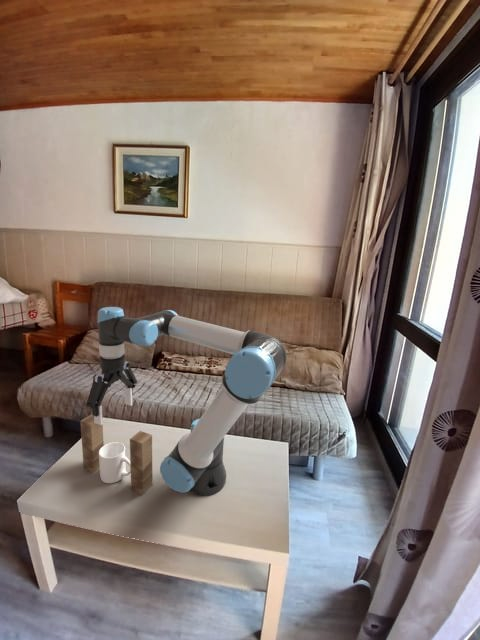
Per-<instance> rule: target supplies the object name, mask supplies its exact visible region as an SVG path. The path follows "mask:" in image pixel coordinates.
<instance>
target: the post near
mask: <svg viewBox="0 0 480 640" xmlns="http://www.w3.org/2000/svg"><path fill="white" fill-rule="evenodd" d="M129 453H130V454H129V461H130V464H131V473H130V489H131V490H132V491H134V492H136V493H138V494H140V495H144V494H146V492H147V491H148V490H149V489H150V488H151V487H152V486H153V435H152V434H150V433H147V432H144V431H142V430H139V431H138V432H136V434H134V435H133V436H131V437H130V438H129Z"/></svg>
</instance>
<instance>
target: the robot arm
mask: <svg viewBox="0 0 480 640" xmlns="http://www.w3.org/2000/svg"><path fill="white" fill-rule="evenodd" d="M97 329H98V330H97V333H98V334H97V335H98V345H99V346H98V347H99V348H98V349H99V350H98V351H99V352H98V353H99V367H100V369H101V374H94V375H93V376H92V377H93V378H92V384H91V387H90V391H89V393H88V397H87V400H86V403H85V407H87V408H90V409H91V411H92V412H91V413H92V415H93V416H94V423H96V424H99V425H102V424H103V406H102V405H101V403H102V401H103V399H104V397H105V396H106V394H107V391H108V389H109V388H111V386H112V384H115V382H118V381H120V382H122V383H123V385H125V386H124V405H127V406H131V407H132V406H133V395H134V389H135V388H136V384H138V379H137V378H136V376H135V374H134V372H133V370H132V367H131V366H132V365H131V362H127V361H126V359H125V358H126V356H125V353H126V352H125V342H126V343H130V344H133V345H136V346H139V347H140V346H141V347H149V346H152V345H153V344H154V342H156V341H157V339H158V337H160V336H166V337H171V338H174V339H178V340H181V341H185V342H189V343H192V344H195V345H199V346H202V347H205V348H206V347H207V348H209V349H214V350H216V351H219V352H224V353H227V354H229V355H232V356H231V357H230V358H229V360H228V361H227V363H226V366H225V369H224V373H223V374H222V377H221V384H222V386H221V388H220V389H219V390H218V392H217V394H216V395H215V396H214V398H213V399H212V401H211V402H210V404H209V405H208V406H207V408H206V410H205V411H204V413H203V414H202V415H201V417H200V418H198V419H195V420H193V421H192V423H191V424H190V425H191V426H190V433H185V434H184V435H182V436H181V437H180V439H179V441H178V442H177V443H176V445H175V446H174V448H173V449H172V451H171V452H170V453H169V454H168V455H167V456H166V457H164V458H163V460H162V461H161V463H160V467H159V471H160V474H161V477H162V480H163V481H164V482H165V484H166V485H167V486H168V487H169V488H171V489H172V490H173V491H176V492H178V493H181V494H182V493H188V492H191V493H192V494H196V495H199V496H210V495H211V496H212V495H215V494H217V493H219V492H220V491H221V490H222V489H223V488H224V487H225V485H226V482H227V471H226V468H225V464H224V461H223V459H224V457H223V455H224V445H225V444H224V442H225V436H226V435H227V434H228V432H229V431H230V429H231V428H232V427H233V425H235V423H236V421H237V420H238V419H239V417H241V415H242V414H243V412H244V411H245V409H246V408H247V407H248V406H249V405H255V404H257V403H258V402H259V401H260V399H261V398H262V397H263V396H264V395H265V393H266V392H268V390H269V389H270V388H271V386H272V384H273V383H274V381H276V379H277V377H279V375H280V374H281V372H282V371H283V370H284V368H285V366H286V364H287V360H288V359H287V356H288V355H287V350H286V348H285V346H284V344H283V343H282V342H281V341H280V340H279V339H278V338H277V337H275V336H272V335H270V334H267V333H262V332H259V331H257V330H256V331H255V330H250V329H249V330H247V331H242V330H241V331H240V330H238V329H232V328H231V327H230V328H229V327H225V326H220V325H217V324H212V323H209V322H205V321H201V320H198V319H193V318H189V317H185V316H181V315H179V314H178V313H177V312H175V311H174V310H172V309H167V310H166V309H165V310H161V311H159V312H156V313H153V314H147V315H144V316H142V317H137V318H134V317H128V316H125V313H124V309H123V308H121V307H119V306H106V307H102V308H100V309H99V310H98V311H97ZM123 372H124V373H123ZM103 425H104V424H103Z"/></svg>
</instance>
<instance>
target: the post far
mask: <svg viewBox="0 0 480 640" xmlns="http://www.w3.org/2000/svg"><path fill="white" fill-rule="evenodd" d="M79 421H80V423H79V424H80V434H81V436H80V437H81V448H82V449H81V450H82V461H83V469H84V470H86V471H88V472H90V473H92V474H95V473H97V472H98V471H100V464H99V450H100V449H101V448H102V447H103V446H104V445H105V444H104V424H102V425H99V424H96V423H94V416H93V415H92V414H89V415H88V416H86V417H84V418H83V419H81V420H79Z"/></svg>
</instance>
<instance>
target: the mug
mask: <svg viewBox="0 0 480 640" xmlns="http://www.w3.org/2000/svg"><path fill="white" fill-rule="evenodd" d="M99 464H100V469H99V475H100V477H99V478H100V480H101V481H102V482H103V483H105V484H114V483H117V482H119V481H120V480H123V478H124V477H127V476H129V475H131V464H130V458H128V457H127V456H126V446H125V445H124V443H121V442H117V441H115V442H114V441H113V442H108V443H106V444H104V446H103V447H102V448H101V449H100V450H99ZM126 464H128V466H129V468H130V470H129V471H127V469H126V468H127V465H126Z"/></svg>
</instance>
